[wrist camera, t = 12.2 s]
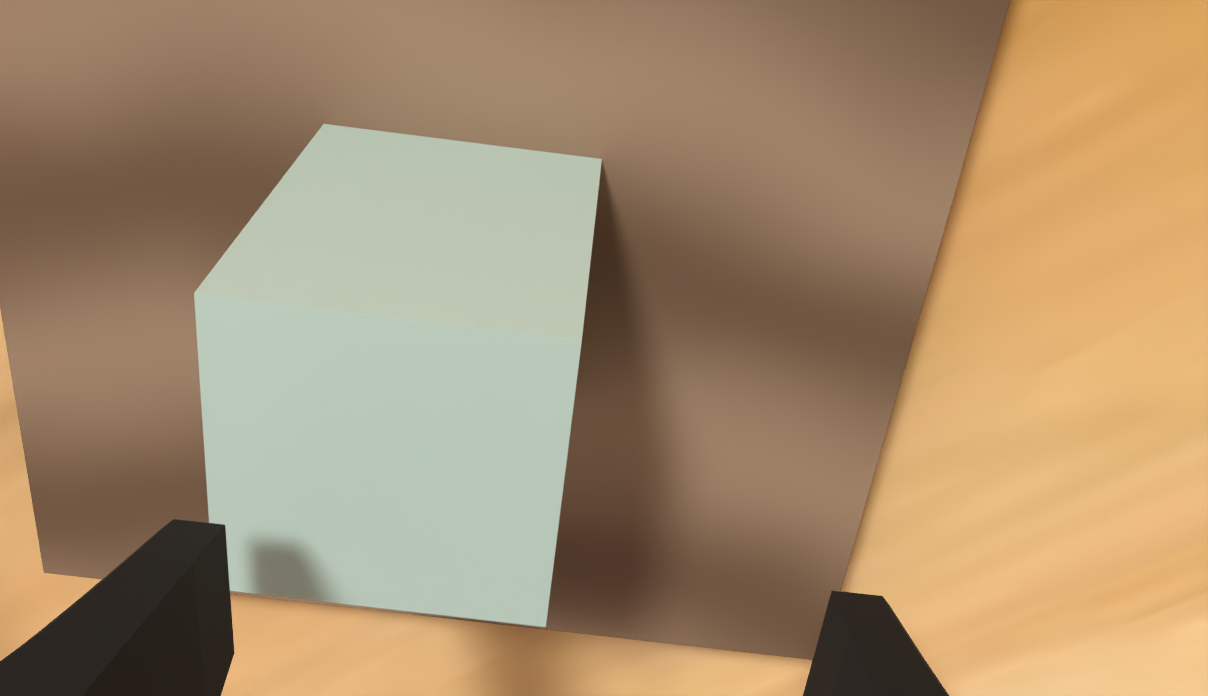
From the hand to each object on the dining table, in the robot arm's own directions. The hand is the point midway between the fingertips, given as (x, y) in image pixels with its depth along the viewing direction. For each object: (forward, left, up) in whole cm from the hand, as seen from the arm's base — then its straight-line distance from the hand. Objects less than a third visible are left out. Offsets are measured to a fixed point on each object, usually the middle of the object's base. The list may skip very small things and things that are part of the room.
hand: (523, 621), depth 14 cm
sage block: (+1, +2, -7) cm, 8 cm away
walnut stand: (+1, +2, -9) cm, 10 cm away
